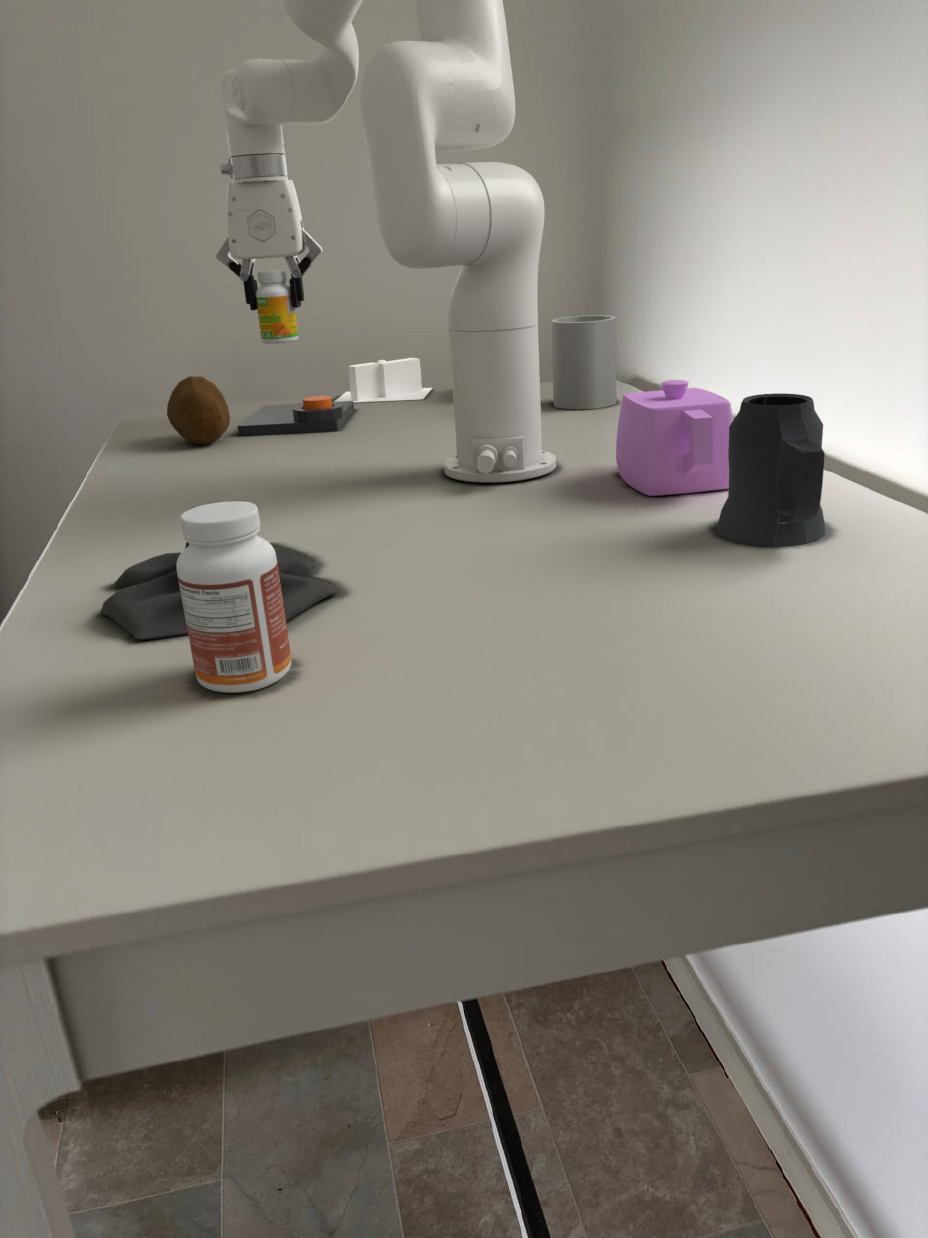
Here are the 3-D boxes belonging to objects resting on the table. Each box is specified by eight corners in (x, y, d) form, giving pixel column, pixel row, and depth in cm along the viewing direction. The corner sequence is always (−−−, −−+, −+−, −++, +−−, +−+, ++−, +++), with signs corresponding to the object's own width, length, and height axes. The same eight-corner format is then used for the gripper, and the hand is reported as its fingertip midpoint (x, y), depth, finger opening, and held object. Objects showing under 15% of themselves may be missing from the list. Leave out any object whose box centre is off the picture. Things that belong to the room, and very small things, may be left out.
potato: (162, 452, 135) (151, 385, 132) (178, 434, 146) (168, 372, 143) (226, 447, 136) (216, 381, 132) (237, 430, 147) (229, 368, 144)
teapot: (600, 465, 114) (598, 372, 110) (691, 457, 115) (693, 364, 111) (650, 507, 97) (650, 398, 93) (755, 496, 98) (760, 389, 94)
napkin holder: (432, 387, 172) (430, 352, 170) (424, 399, 162) (421, 362, 160) (345, 391, 174) (342, 357, 172) (331, 403, 164) (327, 367, 161)
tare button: (329, 410, 142) (328, 399, 141) (301, 412, 142) (300, 401, 142) (334, 405, 146) (333, 394, 145) (306, 407, 146) (305, 396, 145)
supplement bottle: (255, 344, 147) (245, 273, 143) (272, 339, 152) (263, 270, 148) (288, 343, 145) (280, 271, 142) (305, 338, 150) (297, 268, 146)
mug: (701, 520, 92) (705, 394, 88) (798, 510, 93) (806, 386, 89) (752, 561, 81) (758, 420, 77) (861, 550, 82) (874, 410, 78)
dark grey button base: (340, 431, 142) (338, 409, 140) (238, 436, 142) (235, 415, 141) (357, 409, 157) (355, 389, 156) (264, 414, 158) (262, 395, 157)
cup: (544, 402, 153) (542, 319, 148) (600, 395, 155) (599, 313, 151) (568, 411, 145) (566, 324, 140) (626, 404, 147) (626, 318, 143)
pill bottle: (255, 648, 70) (232, 492, 66) (311, 670, 66) (291, 505, 62) (177, 679, 66) (147, 515, 62) (232, 705, 62) (204, 531, 58)
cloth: (343, 626, 73) (334, 544, 71) (77, 656, 71) (59, 573, 69) (333, 538, 94) (326, 472, 92) (127, 559, 92) (114, 492, 89)
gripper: (190, 174, 137) (210, 314, 144) (316, 165, 136) (330, 307, 143) (205, 175, 144) (224, 309, 151) (325, 167, 143) (339, 302, 150)
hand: (276, 306), depth 147 cm, fingers closed on supplement bottle, 5 cm apart
